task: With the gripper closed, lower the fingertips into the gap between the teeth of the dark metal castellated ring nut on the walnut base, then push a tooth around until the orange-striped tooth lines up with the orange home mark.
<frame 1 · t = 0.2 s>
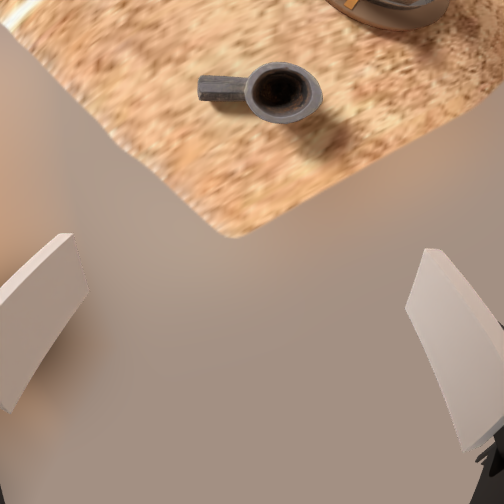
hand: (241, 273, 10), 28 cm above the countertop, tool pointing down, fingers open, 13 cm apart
pipe: (257, 92, 32), on the countertop
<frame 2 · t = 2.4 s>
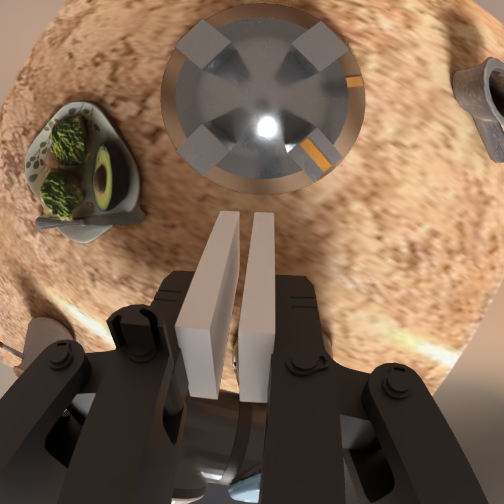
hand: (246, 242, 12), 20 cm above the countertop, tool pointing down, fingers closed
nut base: (262, 96, 27), on the countertop
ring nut: (261, 96, 22), point 6 cm above the countertop, hinge at 0.0°
coffee pot: (42, 313, 45), on the countertop
pipe: (472, 107, 25), on the countertop
salad plate: (85, 172, 32), on the countertop
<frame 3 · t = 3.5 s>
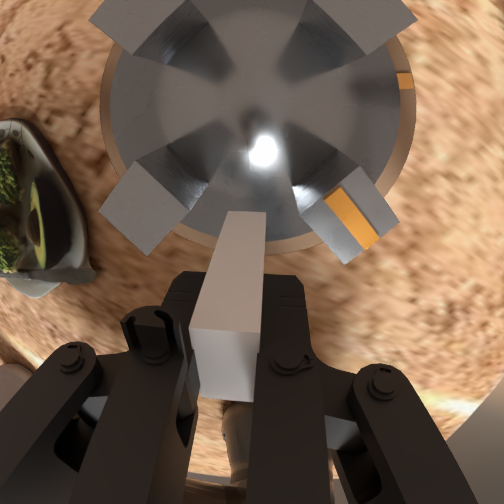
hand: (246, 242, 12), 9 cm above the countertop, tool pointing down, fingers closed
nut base: (256, 101, 17), on the countertop
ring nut: (250, 101, 12), point 6 cm above the countertop, hinge at 0.0°
coffee pot: (10, 358, 35), on the countertop
salad plate: (26, 211, 22), on the countertop
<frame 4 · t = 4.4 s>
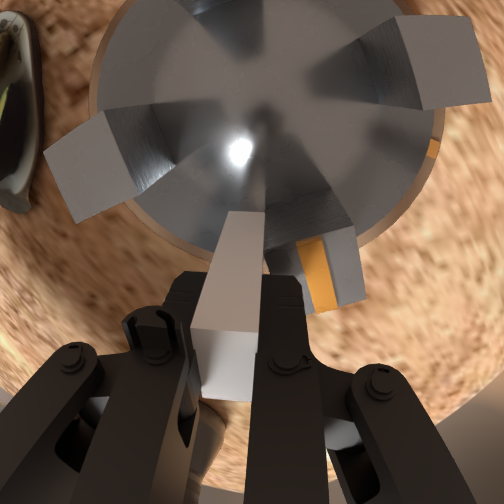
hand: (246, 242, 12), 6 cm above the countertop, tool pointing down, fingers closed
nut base: (266, 97, 15), on the countertop
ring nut: (263, 95, 10), point 6 cm above the countertop, hinge at 0.0°, touching gripper
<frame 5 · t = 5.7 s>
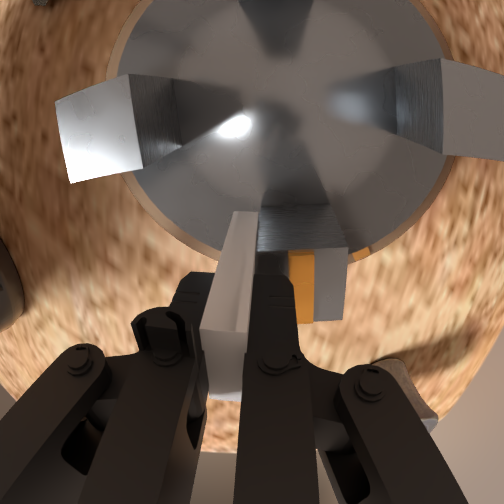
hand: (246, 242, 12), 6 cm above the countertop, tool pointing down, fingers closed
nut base: (285, 99, 15), on the countertop
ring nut: (288, 98, 10), point 6 cm above the countertop, hinge at 36.1°, touching gripper
pipe: (361, 382, 26), on the countertop
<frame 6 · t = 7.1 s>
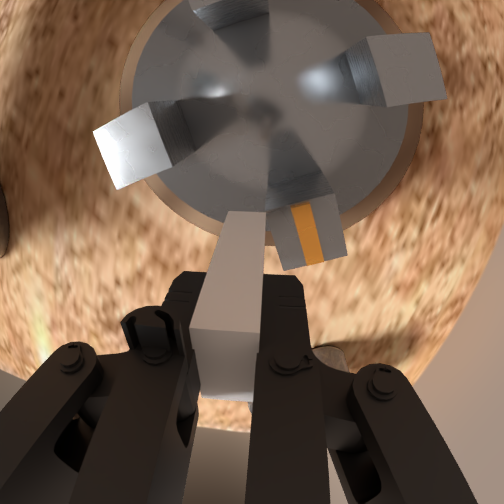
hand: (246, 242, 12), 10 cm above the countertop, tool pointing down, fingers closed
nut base: (271, 98, 18), on the countertop
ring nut: (268, 97, 13), point 6 cm above the countertop, hinge at 59.2°
pipe: (302, 366, 30), on the countertop
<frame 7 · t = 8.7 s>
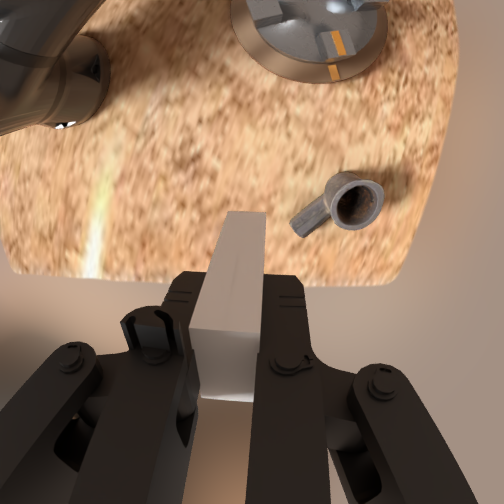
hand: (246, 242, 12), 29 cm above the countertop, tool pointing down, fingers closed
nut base: (309, 15, 29), on the countertop
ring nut: (315, 3, 24), point 6 cm above the countertop, hinge at 59.2°
pipe: (329, 197, 41), on the countertop
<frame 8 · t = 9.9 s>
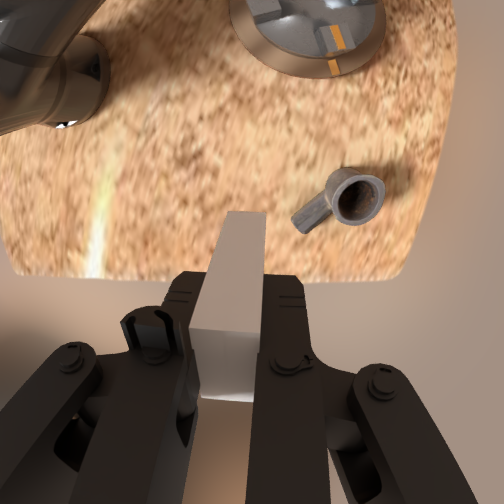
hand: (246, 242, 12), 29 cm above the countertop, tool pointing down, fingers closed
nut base: (308, 11, 28), on the countertop
pipe: (330, 193, 41), on the countertop
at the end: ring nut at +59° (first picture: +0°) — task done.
